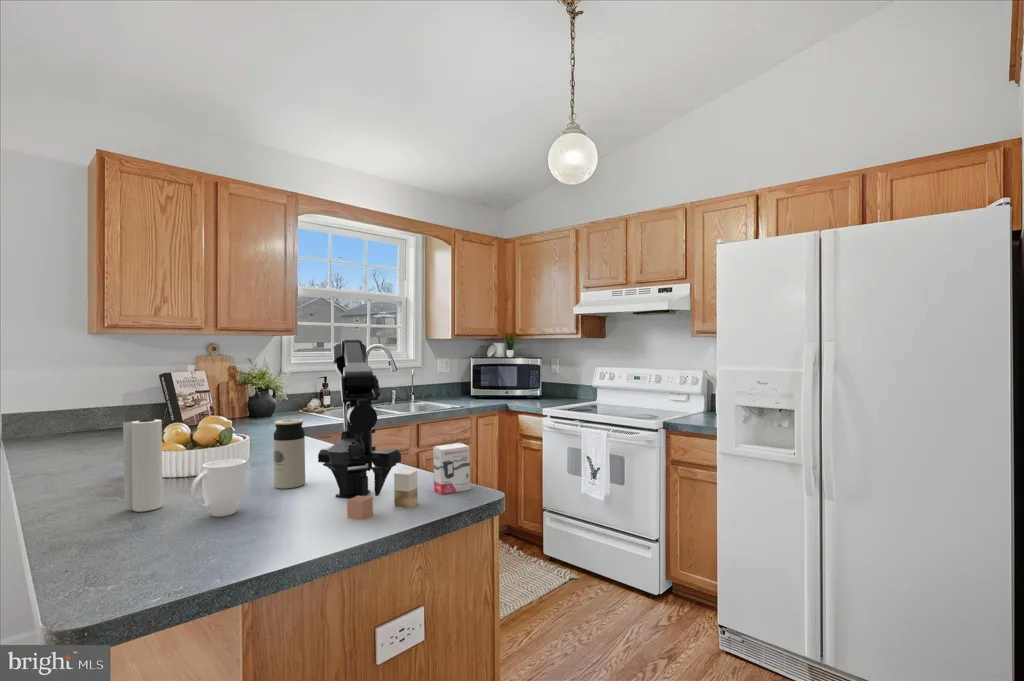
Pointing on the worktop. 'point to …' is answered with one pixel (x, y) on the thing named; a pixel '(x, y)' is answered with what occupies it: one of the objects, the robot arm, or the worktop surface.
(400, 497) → the oak block
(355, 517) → the terracotta block
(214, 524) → the worktop surface
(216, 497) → the mug
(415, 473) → the cream block
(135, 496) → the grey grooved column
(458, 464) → the ink box
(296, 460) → the travel mug
